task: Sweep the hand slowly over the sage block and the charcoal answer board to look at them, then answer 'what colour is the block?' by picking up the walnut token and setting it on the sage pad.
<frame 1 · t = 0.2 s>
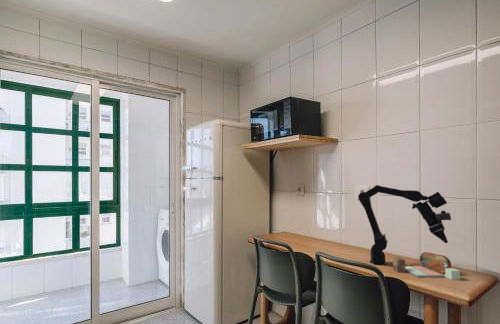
hand: (446, 240, 143), 15 cm above the table, tool tilted 30°, fingers open, 9 cm apart
tin: (435, 270, 145), on the table
answer board: (419, 271, 142), on the table
sage block: (452, 278, 133), on the table
walnut token: (399, 271, 143), on the table
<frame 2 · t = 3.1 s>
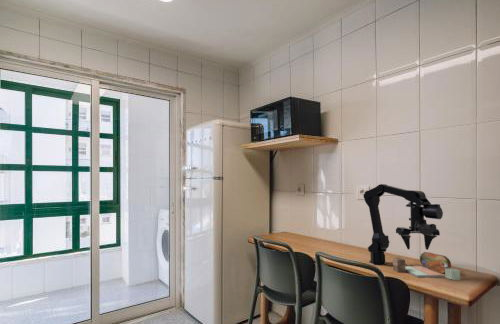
hand: (417, 249, 139), 12 cm above the table, tool pointing down, fingers open, 9 cm apart
nothing on the table moved.
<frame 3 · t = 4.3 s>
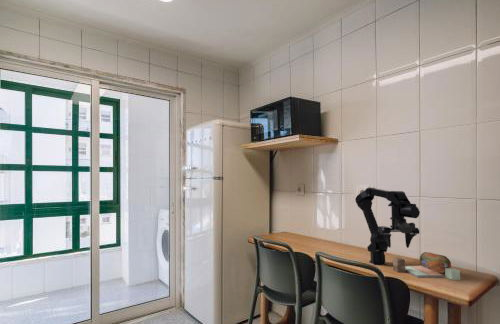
hand: (398, 247, 144), 11 cm above the table, tool pointing down, fingers open, 9 cm apart
nothing on the table moved.
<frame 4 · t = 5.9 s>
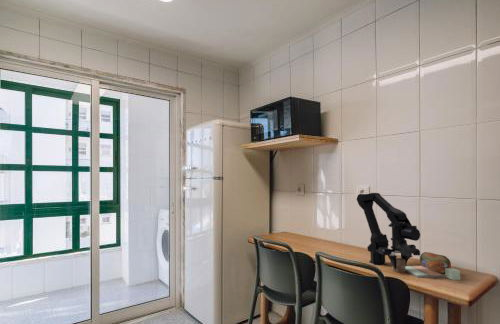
hand: (399, 268, 143), 1 cm above the table, tool pointing down, fingers closed on walnut token, 4 cm apart
walnut token: (399, 271, 143), on the table, touching gripper
everything else where it was.
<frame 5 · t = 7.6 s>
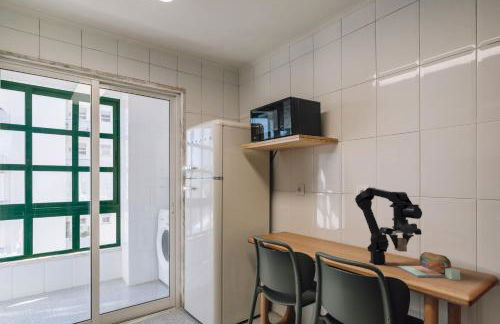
hand: (400, 248, 144), 11 cm above the table, tool pointing down, fingers closed on walnut token, 4 cm apart
walnut token: (400, 250, 143), point 10 cm above the table, touching gripper
everything else where it was.
when the fingers open (3 cm above the table, at t = 9.7 s): walnut token drops 1 cm, resting on answer board.
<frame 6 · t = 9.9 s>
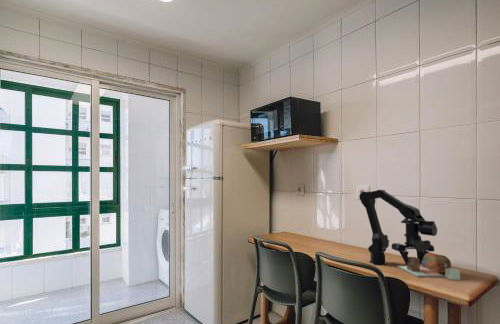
hand: (413, 265, 142), 3 cm above the table, tool pointing down, fingers open, 6 cm apart
walnut token: (413, 270, 142), point 1 cm above the table, touching answer board
everything else where it was.
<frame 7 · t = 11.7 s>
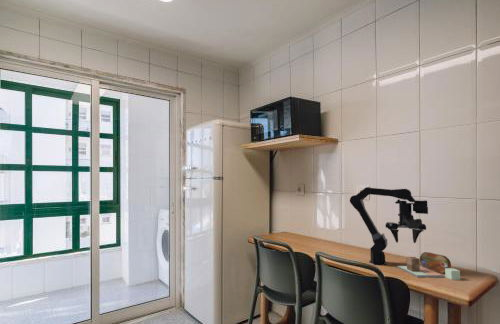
hand: (405, 242, 150), 13 cm above the table, tool pointing down, fingers open, 9 cm apart
nothing on the table moved.
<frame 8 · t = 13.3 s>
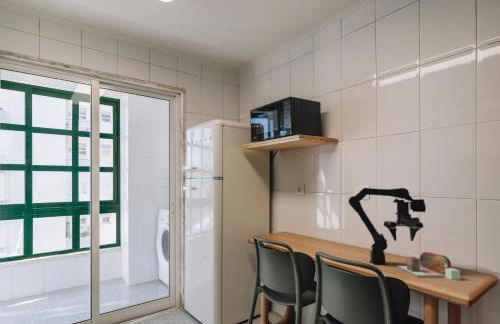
hand: (403, 240, 153), 13 cm above the table, tool pointing down, fingers open, 9 cm apart
nothing on the table moved.
at the end: walnut token inside the target area on the answer board (0.0 cm from its centre), point 0.8 cm above the answer board's base; walnut token tilted 0°; sage block moved 0.1 cm from its start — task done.
